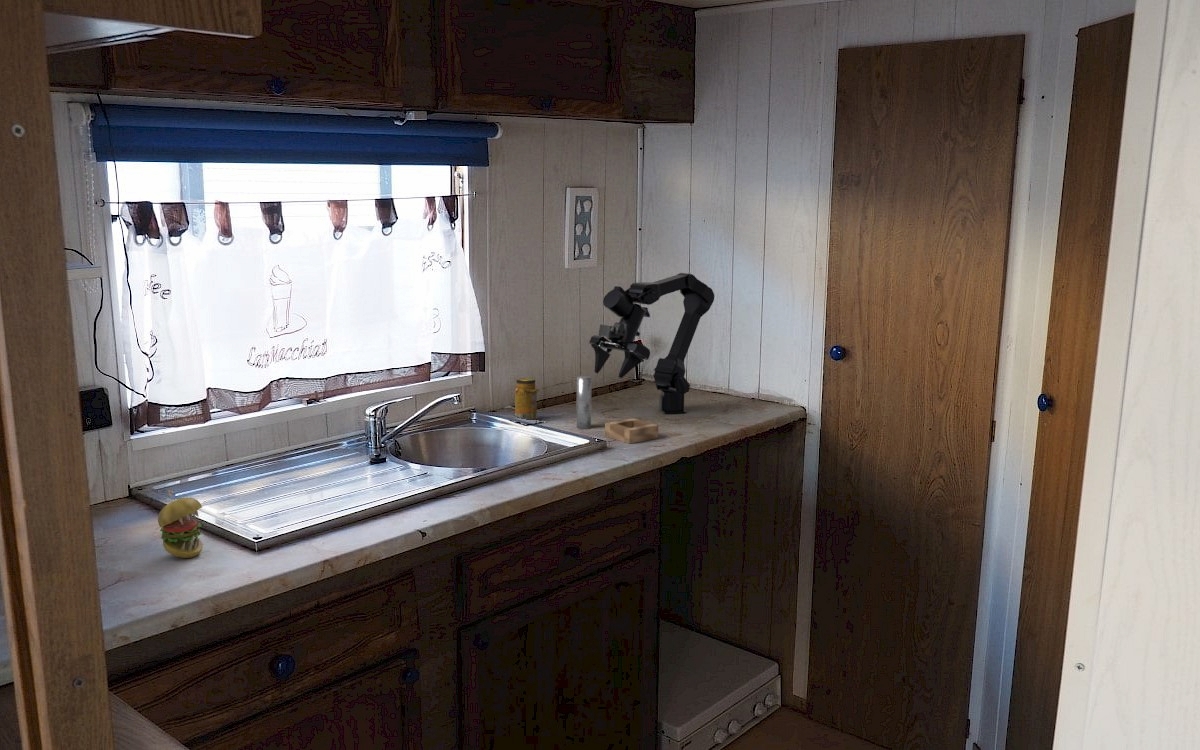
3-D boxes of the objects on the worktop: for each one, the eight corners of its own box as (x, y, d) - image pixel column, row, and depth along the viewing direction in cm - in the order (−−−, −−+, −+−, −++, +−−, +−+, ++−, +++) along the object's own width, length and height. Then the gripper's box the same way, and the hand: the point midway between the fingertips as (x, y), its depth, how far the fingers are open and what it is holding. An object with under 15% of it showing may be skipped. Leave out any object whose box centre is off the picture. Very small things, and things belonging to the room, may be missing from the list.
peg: (589, 425, 283) (589, 375, 281) (592, 428, 280) (592, 378, 277) (575, 426, 283) (575, 376, 280) (578, 429, 279) (578, 379, 276)
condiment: (529, 417, 293) (528, 376, 291) (546, 422, 286) (546, 380, 284) (507, 420, 288) (507, 378, 286) (525, 426, 282) (525, 383, 280)
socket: (633, 430, 278) (633, 418, 277) (658, 438, 270) (658, 425, 270) (604, 436, 272) (605, 423, 271) (629, 443, 264) (629, 430, 264)
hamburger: (188, 564, 179) (184, 498, 176) (151, 561, 180) (146, 495, 178) (213, 549, 186) (209, 485, 184) (177, 546, 187) (172, 483, 185)
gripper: (588, 308, 284) (566, 358, 281) (637, 314, 271) (614, 367, 268) (611, 325, 292) (590, 375, 289) (660, 333, 279) (639, 384, 276)
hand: (607, 375), depth 280 cm, fingers open, 9 cm apart
